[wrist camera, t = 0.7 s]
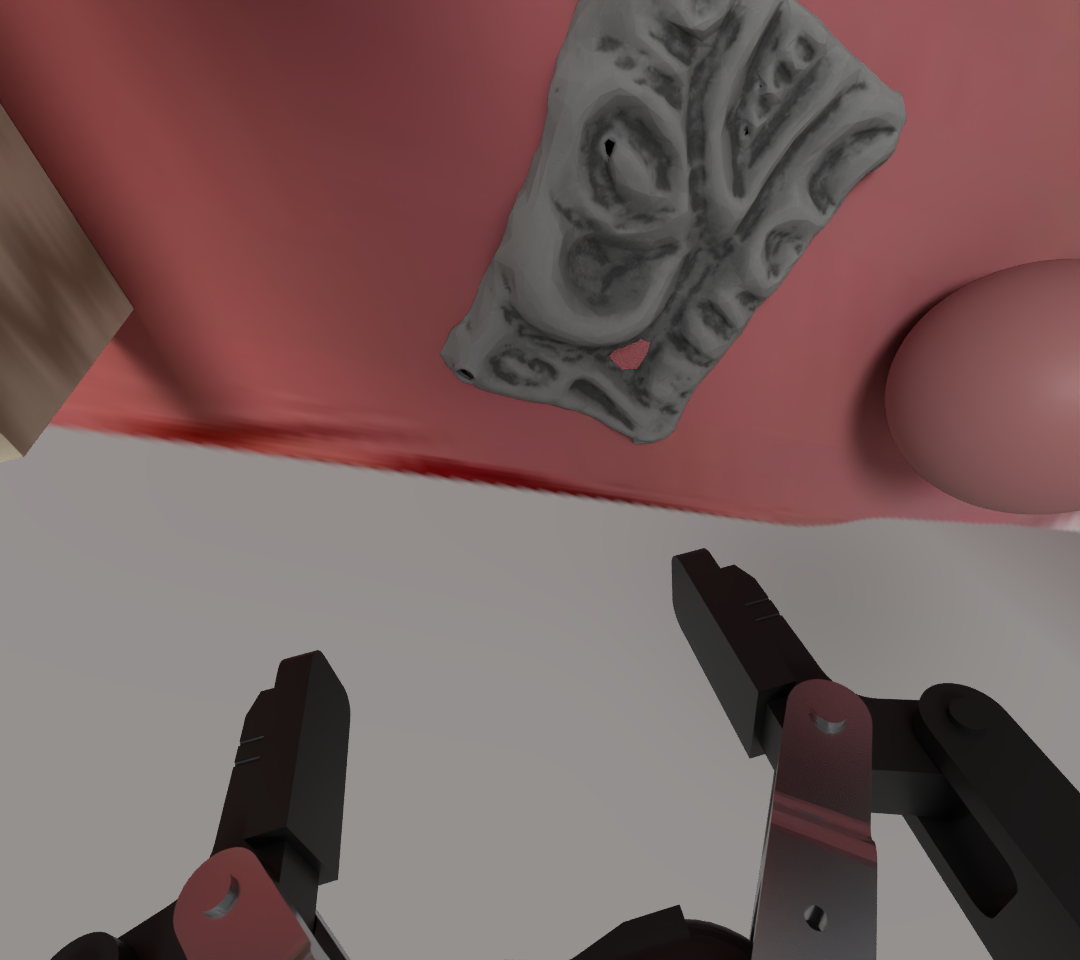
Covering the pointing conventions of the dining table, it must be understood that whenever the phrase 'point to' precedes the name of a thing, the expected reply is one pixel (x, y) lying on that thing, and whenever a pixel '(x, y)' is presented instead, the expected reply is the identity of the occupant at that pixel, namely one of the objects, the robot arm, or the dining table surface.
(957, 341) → the balloon
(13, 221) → the wall board
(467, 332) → the wall plaque
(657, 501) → the dining table surface
